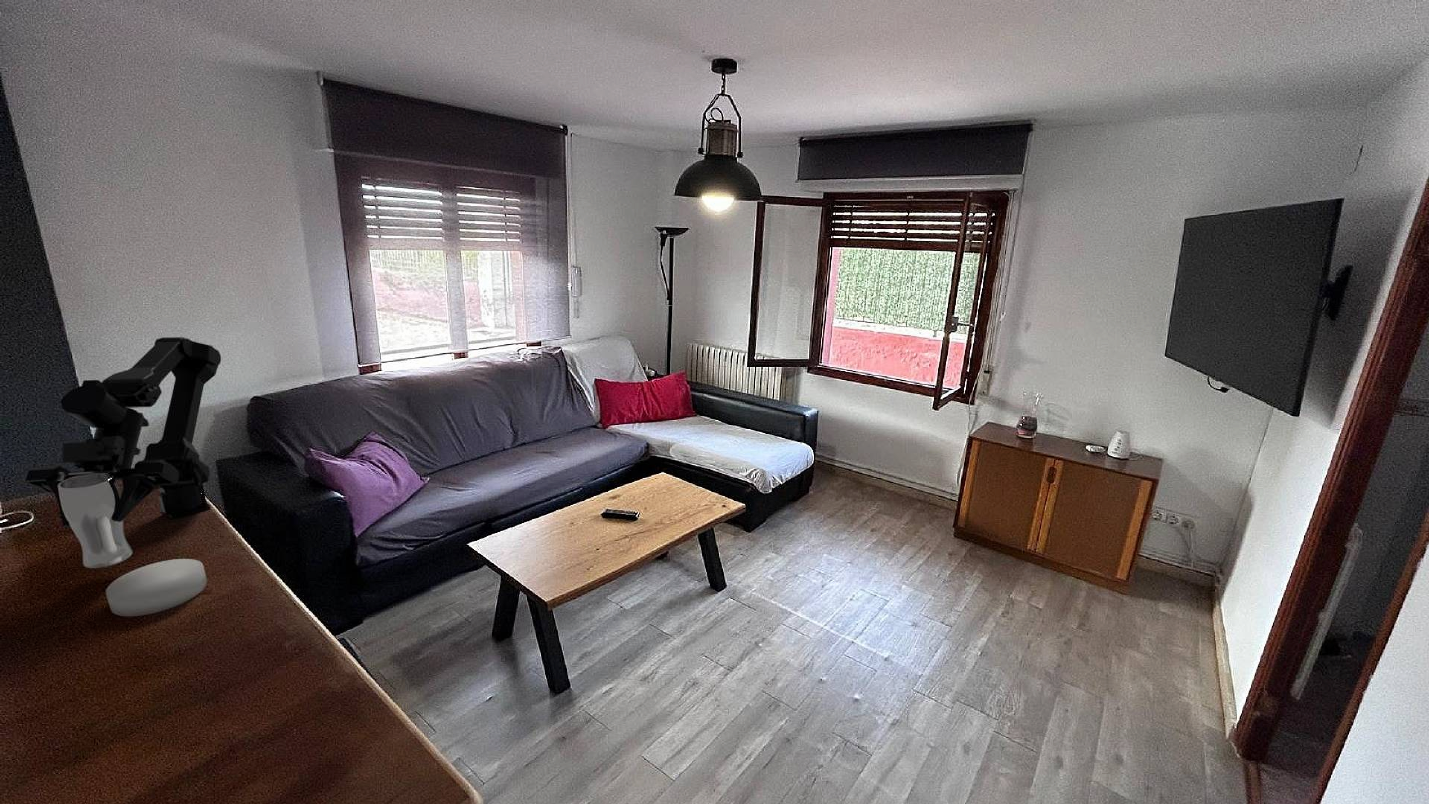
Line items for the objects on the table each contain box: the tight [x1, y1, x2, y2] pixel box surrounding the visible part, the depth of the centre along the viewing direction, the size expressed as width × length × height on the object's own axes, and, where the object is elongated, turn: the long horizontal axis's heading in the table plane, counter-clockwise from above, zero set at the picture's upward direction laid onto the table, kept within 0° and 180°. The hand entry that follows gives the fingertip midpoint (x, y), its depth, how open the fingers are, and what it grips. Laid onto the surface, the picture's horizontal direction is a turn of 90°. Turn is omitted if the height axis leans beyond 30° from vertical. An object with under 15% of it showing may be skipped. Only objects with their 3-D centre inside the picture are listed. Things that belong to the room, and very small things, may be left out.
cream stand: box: [105, 558, 208, 617], centre depth 99 cm, size 12×12×3 cm
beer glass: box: [58, 472, 133, 569], centre depth 101 cm, size 7×7×15 cm
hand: (92, 523), depth 99 cm, fingers closed on beer glass, 6 cm apart
